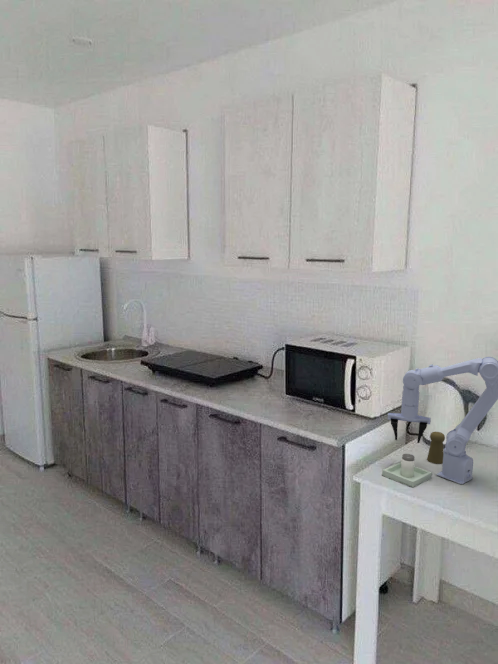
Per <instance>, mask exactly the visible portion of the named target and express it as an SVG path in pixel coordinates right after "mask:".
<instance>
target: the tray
mask: <svg viewBox="0 0 498 664" xmlns="http://www.w3.org/2000/svg"><path fill="white" fill-rule="evenodd" d="M381 473H382V474H381V476H383V477H385V478H388V479H389V480H392V481H396V482H397V483H399V484H402V485H405V486H407V487H410V488H415V487H417V486H419V485H421V484H423V483H424V482H426V481H428V480H430V479H432V476H433V472H432V471H429V470H427V469H424V468H421V467H418V466H415V465H414V476H413V477H412V478H406V477H403V476H401V475H400V473H401V461H398V462H397V463H395V464H392V465H390V466H388V467H387V468H384V469H382V472H381Z"/></svg>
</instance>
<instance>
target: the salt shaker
mask: <svg viewBox="0 0 498 664" xmlns="http://www.w3.org/2000/svg"><path fill="white" fill-rule="evenodd" d="M415 460H416V459H415V455H413V454H411V453H403V454H402V456H401V459H400V462H401V473H400V475H401V476H403V477H406V478H412V477H413V476H414V466H415V463H416V462H415Z"/></svg>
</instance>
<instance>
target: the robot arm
mask: <svg viewBox="0 0 498 664" xmlns="http://www.w3.org/2000/svg"><path fill="white" fill-rule="evenodd" d="M466 373H468V374H471V375H473V376H476V377H478V376H479V375H480V376H481V378H482V379H483V381H484V382H485V383H484V384H485V389H484V391H483V392H482V393H481V394H480V396H479V397H478V398H477V400H476V402H475V403H474V404H473V406H472V407H471V408H470V410H469V411H468V412H467V414H466V415H465V416H464V418H463V419H462V420H461V422H459V423H458V424H457V425H456V427H454V429H452V430H449V432H447V434H446V437H445V439H446V442H445V446H444V447H443V463H442V464H441V465H442V466H441V471H439V472H438V473H436V475H437V476H438V477H440V478H443V479H446V480H449V481H451V482H454V483H457V484H460V485H464V484H465V483H467V482H469V481H471V480H473V478H474V477H473V469H474V459H473V458H472V457H471V456H469V455H468V454H467V451H466V445H467V443H468V442H469V440H470V439H471V437H472V434H473V433H474V431H475V430H476V429H477V427H478V426H479V425H480V423H481V422H482V420H484V418H485V417H486V415H487V414H488V413H489V412H490V410H491V409H492V408H493V407H494V405H495V403H496V402H497V401H498V360H497V358H495V357H493V356H485V357H477V358H473V359H469V360H464V361H462V362H458V363H454V364H451V365H450V364H449V365H447V366H443V367H441V366H439V365H436V364H435V365H434V363H433V364H429V365H428V367H423V368H419V367H416V368H415V369H410V370H408V371H406V372H405V373H404V375H403V378H402V383H403V386H402V396H401V406H400V408H401V410H400V412H401V413H398V412H396V413H395V412H388V413H387V420H389V421H390V424H391V428H392V429H393V435H394V440H395V441H398V425H399V421H401V422H403V421H404V422H409V423H410V422H411V423H418V424H419V425H418V434H417V441H416V443H417V444H420V442H421V438H422V437H423V434H424V433H425V430H426V429H427V426H428V425H431V419H432V418H431V417H427V416H423V415H419V414H418V413H419V405H420V402H419V401H420V386H426V385H429V384H436V383H439V382H440V383H441V382H442V381H443V380H444V378H446V377H450V376H455V375H461V374H462V375H463V374H466Z"/></svg>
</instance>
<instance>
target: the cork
mask: <svg viewBox="0 0 498 664" xmlns="http://www.w3.org/2000/svg"><path fill="white" fill-rule="evenodd" d="M429 438H430V439H429V440H430V445H429V448H428V453H427V459H426V460H428V461H427V462H428V463H431V464H435V465H440V464H441V465H443V453H444V442H445V439H446V437H445V434H444V433H443V432H440V431H432V432H431V433H430V435H429Z"/></svg>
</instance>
